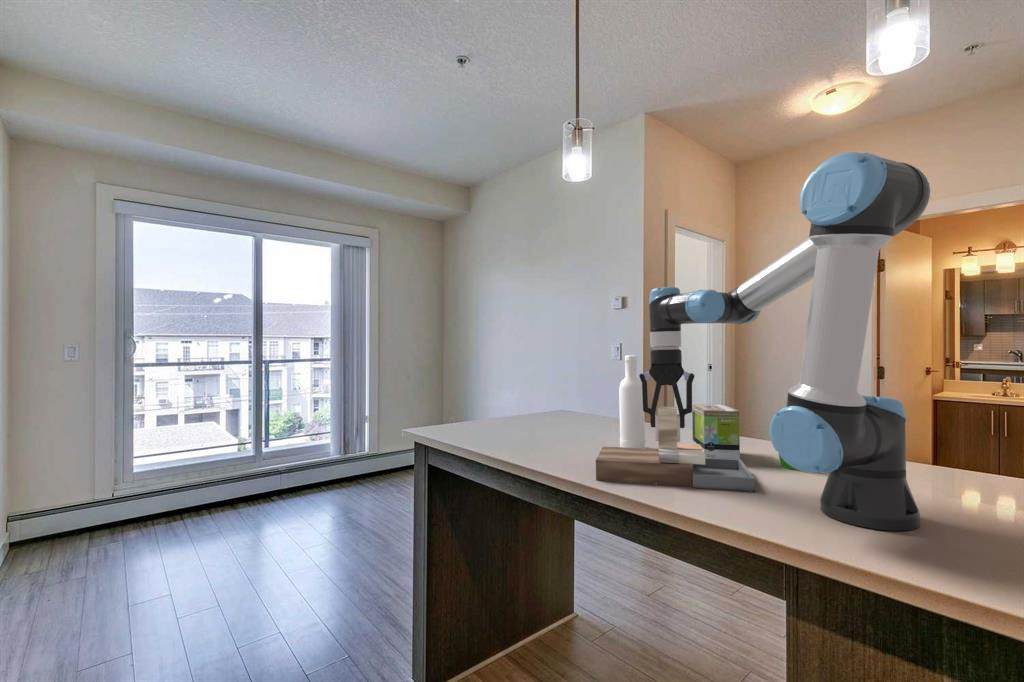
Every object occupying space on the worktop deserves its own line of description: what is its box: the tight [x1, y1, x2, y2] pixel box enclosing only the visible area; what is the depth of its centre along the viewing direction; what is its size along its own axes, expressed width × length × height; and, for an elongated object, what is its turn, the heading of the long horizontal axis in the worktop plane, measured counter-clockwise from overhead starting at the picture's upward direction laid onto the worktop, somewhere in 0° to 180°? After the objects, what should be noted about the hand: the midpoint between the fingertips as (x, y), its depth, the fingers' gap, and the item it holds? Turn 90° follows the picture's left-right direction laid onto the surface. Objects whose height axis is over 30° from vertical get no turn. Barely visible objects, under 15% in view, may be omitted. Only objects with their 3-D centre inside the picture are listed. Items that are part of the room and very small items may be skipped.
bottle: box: [618, 354, 646, 448], centre depth 151 cm, size 8×8×30 cm
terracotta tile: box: [677, 442, 702, 450], centre depth 122 cm, size 6×6×2 cm
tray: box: [692, 458, 756, 493], centre depth 116 cm, size 18×13×3 cm
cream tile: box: [677, 449, 705, 465], centre depth 114 cm, size 6×6×2 cm
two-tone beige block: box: [657, 406, 679, 463], centre depth 119 cm, size 16×4×12 cm, turn 163°
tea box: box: [691, 404, 741, 460], centre depth 139 cm, size 15×10×15 cm, turn 171°
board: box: [595, 446, 693, 487], centre depth 121 cm, size 16×22×5 cm
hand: (667, 440), depth 119 cm, fingers closed on two-tone beige block, 4 cm apart
